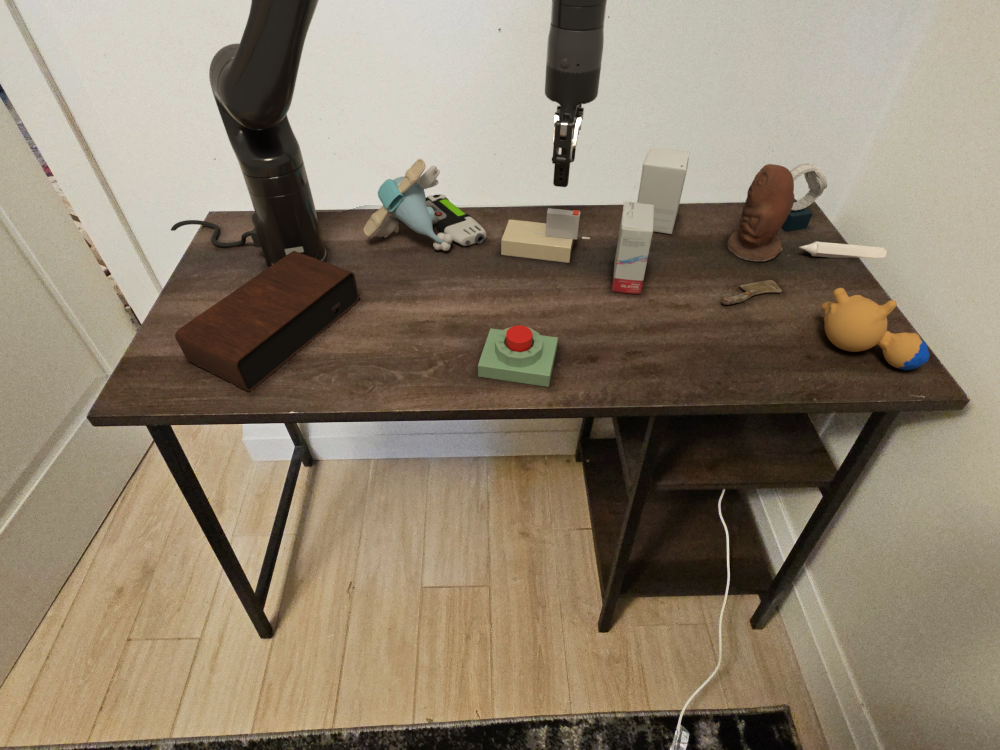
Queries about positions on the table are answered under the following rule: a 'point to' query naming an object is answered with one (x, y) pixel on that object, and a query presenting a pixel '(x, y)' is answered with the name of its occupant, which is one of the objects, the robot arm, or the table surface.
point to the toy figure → (408, 205)
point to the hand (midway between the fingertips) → (564, 172)
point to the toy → (871, 330)
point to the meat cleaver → (752, 291)
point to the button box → (518, 359)
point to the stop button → (519, 338)
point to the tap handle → (562, 223)
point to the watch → (816, 184)
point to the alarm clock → (268, 319)
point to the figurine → (764, 214)
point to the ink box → (633, 247)
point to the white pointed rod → (844, 250)
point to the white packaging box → (663, 185)
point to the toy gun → (455, 221)
